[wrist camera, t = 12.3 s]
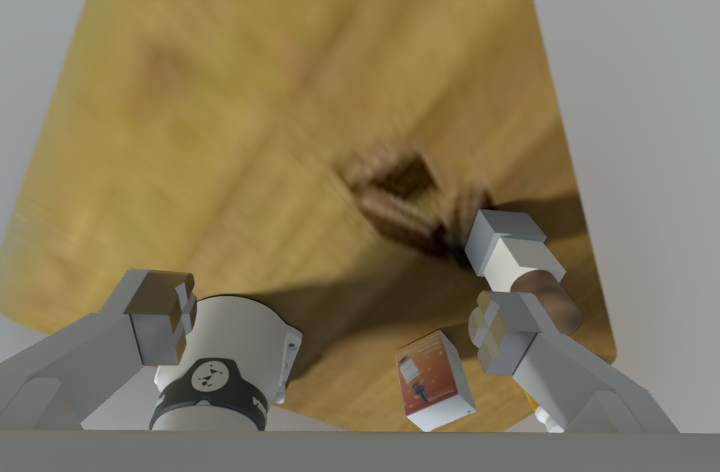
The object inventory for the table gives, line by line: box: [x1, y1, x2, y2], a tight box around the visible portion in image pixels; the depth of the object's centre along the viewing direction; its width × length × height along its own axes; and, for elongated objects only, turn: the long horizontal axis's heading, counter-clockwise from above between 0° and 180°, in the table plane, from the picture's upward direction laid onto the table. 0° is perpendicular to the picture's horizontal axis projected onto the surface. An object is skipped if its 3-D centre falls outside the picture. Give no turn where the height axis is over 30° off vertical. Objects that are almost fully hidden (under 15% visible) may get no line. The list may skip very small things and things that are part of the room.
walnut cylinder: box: [510, 270, 583, 336], centre depth 36 cm, size 4×4×5 cm
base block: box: [464, 209, 547, 277], centre depth 44 cm, size 6×6×5 cm
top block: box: [483, 237, 566, 292], centre depth 40 cm, size 5×5×5 cm
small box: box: [395, 330, 477, 432], centre depth 53 cm, size 8×6×10 cm
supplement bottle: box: [523, 389, 564, 433], centre depth 59 cm, size 5×5×10 cm
